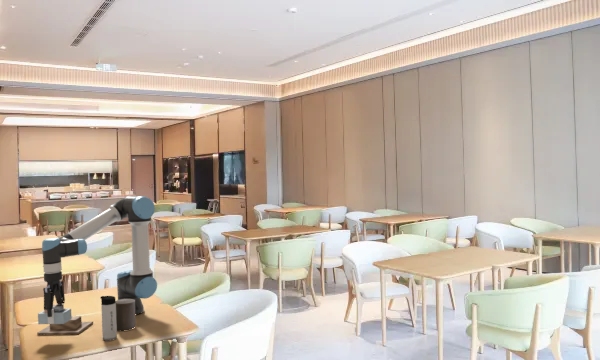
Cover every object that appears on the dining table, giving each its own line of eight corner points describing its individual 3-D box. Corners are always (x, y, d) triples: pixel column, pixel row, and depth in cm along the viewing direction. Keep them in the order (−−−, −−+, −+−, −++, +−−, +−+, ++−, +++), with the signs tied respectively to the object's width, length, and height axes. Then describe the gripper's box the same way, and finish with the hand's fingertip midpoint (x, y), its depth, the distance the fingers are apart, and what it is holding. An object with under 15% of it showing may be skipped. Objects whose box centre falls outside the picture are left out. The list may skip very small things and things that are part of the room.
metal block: (63, 311, 231) (63, 304, 230) (60, 313, 227) (59, 306, 227) (56, 311, 231) (55, 304, 230) (52, 314, 227) (52, 306, 227)
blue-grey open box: (71, 319, 232) (71, 308, 232) (63, 323, 225) (63, 313, 225) (47, 319, 233) (46, 309, 232) (38, 324, 226) (37, 313, 225)
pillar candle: (116, 332, 238) (115, 302, 237) (113, 327, 246) (113, 297, 246) (137, 329, 242) (136, 299, 242) (134, 324, 251) (133, 294, 250)
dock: (92, 323, 252) (92, 313, 252) (78, 334, 237) (77, 322, 236) (54, 324, 253) (54, 313, 253) (37, 335, 237) (36, 323, 237)
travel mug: (104, 336, 232) (102, 294, 232) (118, 336, 233) (117, 294, 232) (100, 341, 226) (98, 298, 225) (114, 340, 226) (113, 297, 226)
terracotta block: (55, 312, 230) (55, 304, 230) (52, 314, 227) (51, 306, 227) (48, 312, 230) (47, 305, 230) (44, 314, 227) (44, 307, 227)
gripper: (55, 267, 238) (58, 314, 239) (32, 277, 218) (35, 328, 219) (71, 266, 238) (73, 313, 239) (49, 276, 218) (52, 327, 219)
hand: (55, 320), depth 229 cm, fingers closed on blue-grey open box, 7 cm apart
